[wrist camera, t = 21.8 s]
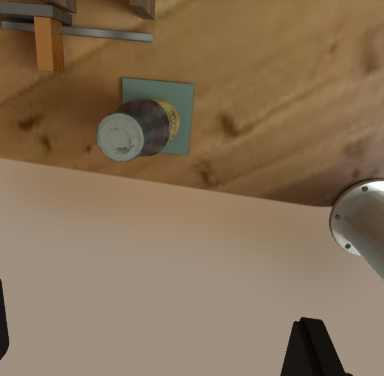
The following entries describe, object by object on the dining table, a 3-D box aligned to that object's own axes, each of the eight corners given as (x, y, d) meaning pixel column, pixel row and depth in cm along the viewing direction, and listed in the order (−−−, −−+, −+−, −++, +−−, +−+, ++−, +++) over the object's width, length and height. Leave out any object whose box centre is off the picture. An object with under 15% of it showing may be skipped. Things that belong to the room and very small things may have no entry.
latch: (71, 15, 40) (52, 5, 35) (73, 73, 42) (55, 71, 37) (-9, 8, 40) (-39, -3, 35) (-3, 66, 43) (-30, 63, 38)
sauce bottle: (172, 148, 44) (141, 193, 26) (132, 132, 44) (72, 165, 25) (188, 106, 42) (168, 121, 23) (147, 88, 42) (92, 89, 23)
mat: (194, 84, 42) (193, 84, 41) (188, 154, 45) (187, 155, 45) (123, 77, 42) (122, 77, 42) (122, 147, 45) (121, 148, 45)
